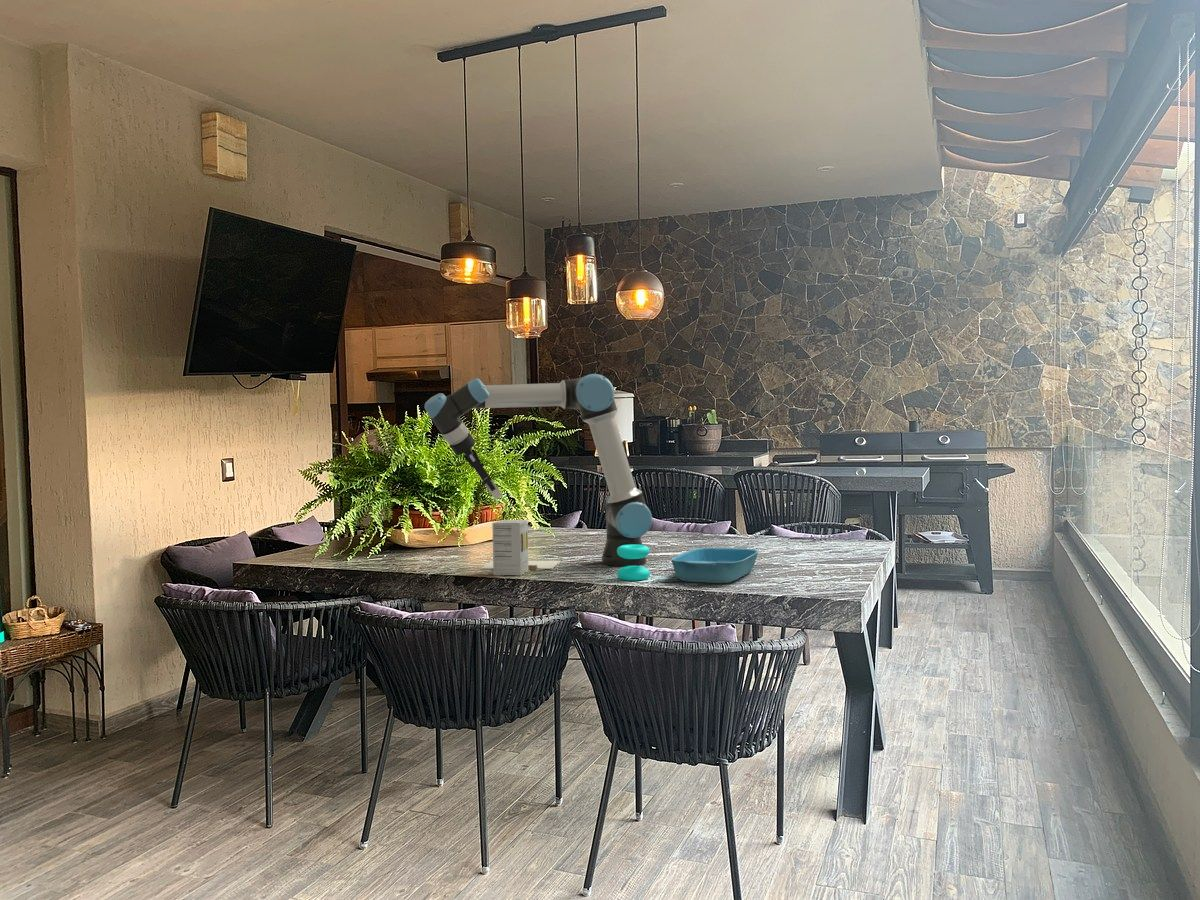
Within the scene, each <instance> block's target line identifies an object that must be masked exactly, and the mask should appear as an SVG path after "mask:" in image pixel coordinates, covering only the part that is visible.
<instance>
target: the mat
mask: <svg viewBox="0 0 1200 900" xmlns="http://www.w3.org/2000/svg"><path fill="white" fill-rule="evenodd" d="M560 563H561V560H528V571H537V569H553V568H554V567H555V566H556V565H557V564H558V565H559V564H560ZM558 565H557V566H558ZM557 566H556V567H557ZM556 567H555V568H556ZM481 568H483V569H482V570H493V560H490V561H489V562H488V563H486V564H485V565H483V566H481V567H480V569H481ZM555 568H554V569H555ZM554 569H553V570H554Z"/></svg>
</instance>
